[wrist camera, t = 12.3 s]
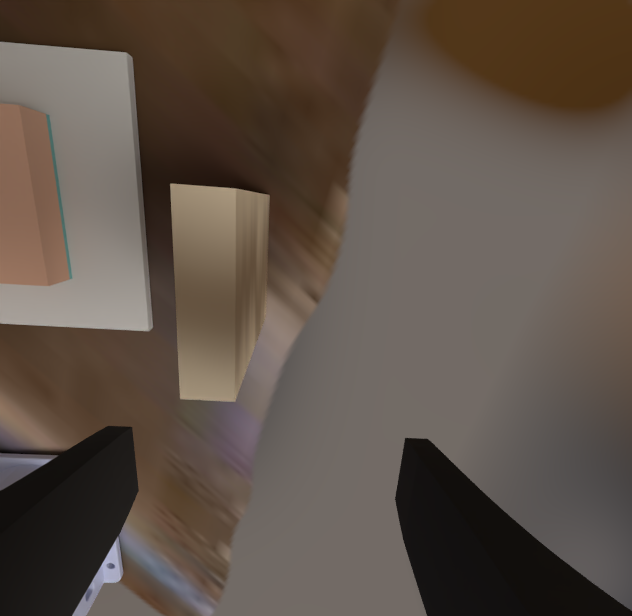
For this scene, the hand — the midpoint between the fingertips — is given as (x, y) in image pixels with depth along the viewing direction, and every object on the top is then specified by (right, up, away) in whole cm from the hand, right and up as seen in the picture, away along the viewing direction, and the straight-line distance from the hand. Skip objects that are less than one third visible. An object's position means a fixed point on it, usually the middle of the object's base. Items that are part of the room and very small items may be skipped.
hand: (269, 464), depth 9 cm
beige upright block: (-2, +7, +8) cm, 10 cm away
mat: (-13, +9, +7) cm, 17 cm away
